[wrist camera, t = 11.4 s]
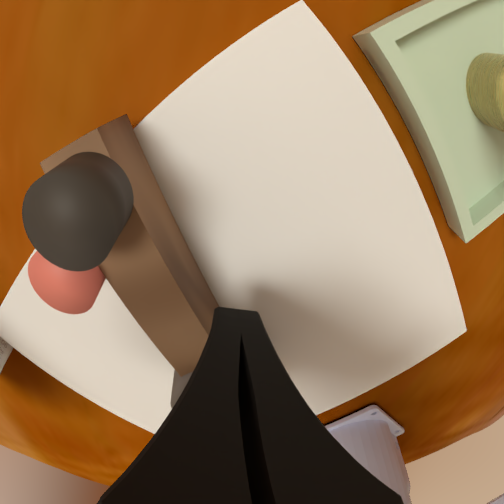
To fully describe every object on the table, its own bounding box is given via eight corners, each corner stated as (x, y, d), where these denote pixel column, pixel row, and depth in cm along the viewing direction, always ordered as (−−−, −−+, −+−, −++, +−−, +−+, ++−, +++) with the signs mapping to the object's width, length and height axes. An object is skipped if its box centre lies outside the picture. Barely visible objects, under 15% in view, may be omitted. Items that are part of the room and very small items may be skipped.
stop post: (137, 233, 11) (111, 290, 8) (101, 268, 12) (73, 324, 9) (90, 188, 10) (47, 233, 7) (58, 228, 10) (18, 278, 8)
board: (460, 322, 16) (466, 330, 15) (202, 445, 23) (202, 453, 22) (296, 4, 8) (301, -1, 7) (-5, 318, 14) (-11, 327, 13)
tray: (553, 137, 10) (572, 146, 8) (448, 226, 12) (465, 243, 11) (495, -28, 5) (517, -31, 4) (351, 36, 8) (369, 32, 7)
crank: (281, 370, 15) (290, 438, 12) (201, 387, 16) (198, 452, 12) (161, 97, 8) (115, 116, 5) (50, 156, 9) (-19, 206, 5)
